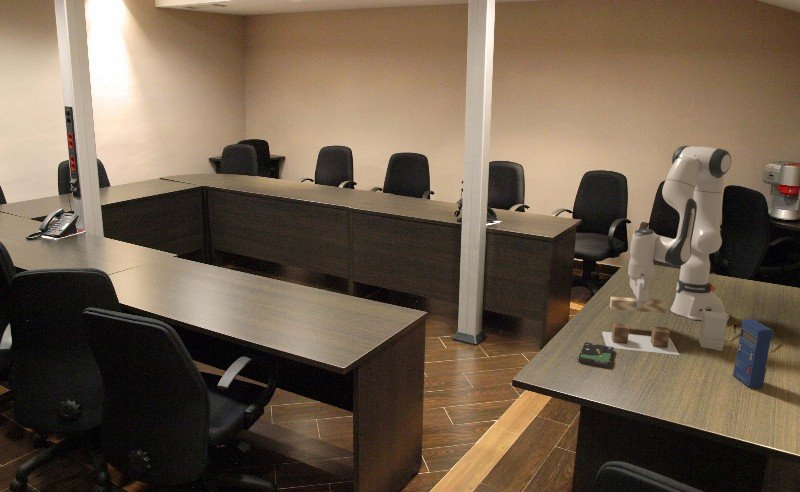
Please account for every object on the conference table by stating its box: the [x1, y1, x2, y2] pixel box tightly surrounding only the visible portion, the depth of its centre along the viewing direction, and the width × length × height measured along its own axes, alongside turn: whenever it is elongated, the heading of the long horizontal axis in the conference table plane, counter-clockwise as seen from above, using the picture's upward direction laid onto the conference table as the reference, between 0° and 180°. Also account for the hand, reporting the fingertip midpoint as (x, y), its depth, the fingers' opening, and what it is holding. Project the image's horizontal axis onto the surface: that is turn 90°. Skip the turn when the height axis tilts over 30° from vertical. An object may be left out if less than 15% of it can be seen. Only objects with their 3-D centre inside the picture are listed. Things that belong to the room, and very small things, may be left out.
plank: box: [609, 296, 667, 314], centre depth 247 cm, size 20×4×4 cm, turn 79°
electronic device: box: [732, 318, 774, 390], centre depth 204 cm, size 10×5×20 cm, turn 5°
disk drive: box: [577, 341, 615, 369], centre depth 221 cm, size 10×3×15 cm
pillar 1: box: [611, 322, 630, 344], centre depth 235 cm, size 5×5×6 cm
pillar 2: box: [651, 326, 671, 348], centre depth 232 cm, size 5×5×6 cm
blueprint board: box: [601, 331, 680, 356], centre depth 234 cm, size 25×16×1 cm, turn 79°
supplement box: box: [698, 311, 728, 352], centre depth 233 cm, size 7×7×13 cm
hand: (637, 305), depth 247 cm, fingers closed on plank, 4 cm apart
